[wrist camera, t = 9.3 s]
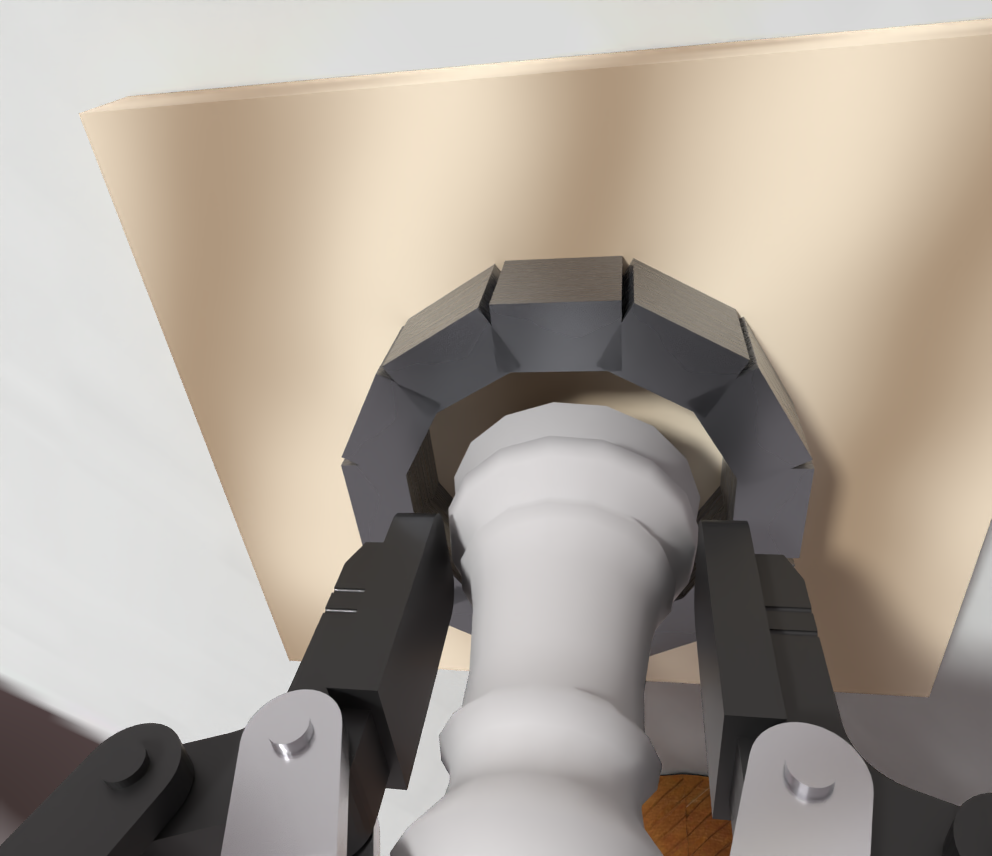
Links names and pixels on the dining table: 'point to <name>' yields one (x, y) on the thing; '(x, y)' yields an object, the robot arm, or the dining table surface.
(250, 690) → the dining table surface
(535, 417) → the rook chess piece
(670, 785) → the disposable coffee cup
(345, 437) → the birch base plate
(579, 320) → the steel socket collar
